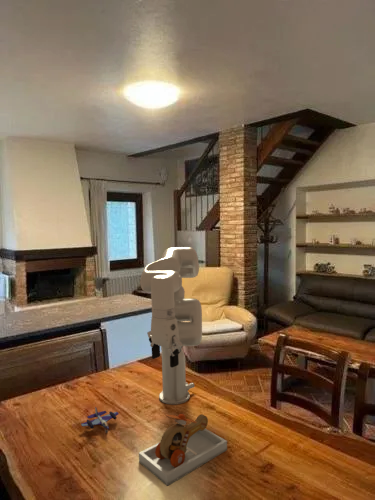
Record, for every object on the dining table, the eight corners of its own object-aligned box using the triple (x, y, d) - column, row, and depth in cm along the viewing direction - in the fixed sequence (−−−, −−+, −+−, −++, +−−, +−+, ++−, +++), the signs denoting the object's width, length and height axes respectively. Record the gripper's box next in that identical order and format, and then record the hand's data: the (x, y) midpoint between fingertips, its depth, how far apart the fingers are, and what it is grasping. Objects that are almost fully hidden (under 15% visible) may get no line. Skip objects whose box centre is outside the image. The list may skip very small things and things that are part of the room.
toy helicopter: (152, 462, 113) (151, 418, 112) (196, 431, 129) (195, 393, 128) (172, 473, 108) (170, 427, 107) (215, 440, 123) (215, 400, 122)
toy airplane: (112, 440, 126) (112, 430, 126) (75, 435, 130) (75, 425, 129) (128, 420, 139) (128, 411, 138) (94, 416, 142) (94, 407, 142)
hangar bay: (197, 431, 130) (197, 423, 130) (227, 449, 120) (226, 440, 119) (139, 462, 115) (138, 452, 114) (167, 486, 104) (167, 475, 104)
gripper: (189, 315, 121) (190, 366, 123) (156, 305, 133) (157, 351, 136) (171, 320, 116) (173, 373, 118) (138, 309, 128) (140, 357, 131)
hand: (165, 361), depth 127 cm, fingers open, 9 cm apart
